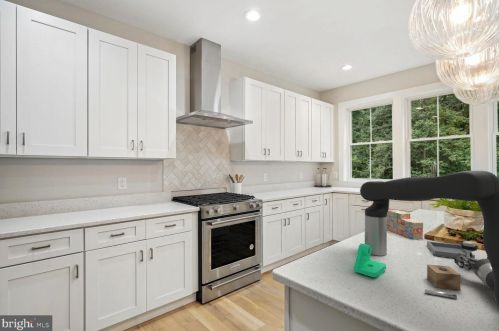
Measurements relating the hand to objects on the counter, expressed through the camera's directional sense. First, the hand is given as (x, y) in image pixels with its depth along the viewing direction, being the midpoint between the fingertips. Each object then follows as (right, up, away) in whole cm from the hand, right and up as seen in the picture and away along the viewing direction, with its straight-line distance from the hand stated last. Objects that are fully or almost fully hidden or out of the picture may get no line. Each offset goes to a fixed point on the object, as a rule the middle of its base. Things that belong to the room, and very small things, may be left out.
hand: (473, 257), depth 95 cm
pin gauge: (-25, -6, -16) cm, 30 cm away
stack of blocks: (+5, -5, +52) cm, 52 cm away
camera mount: (-38, -7, +1) cm, 39 cm away
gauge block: (-18, -6, -8) cm, 21 cm away
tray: (+7, -6, +21) cm, 23 cm away
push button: (+2, -6, +5) cm, 8 cm away
